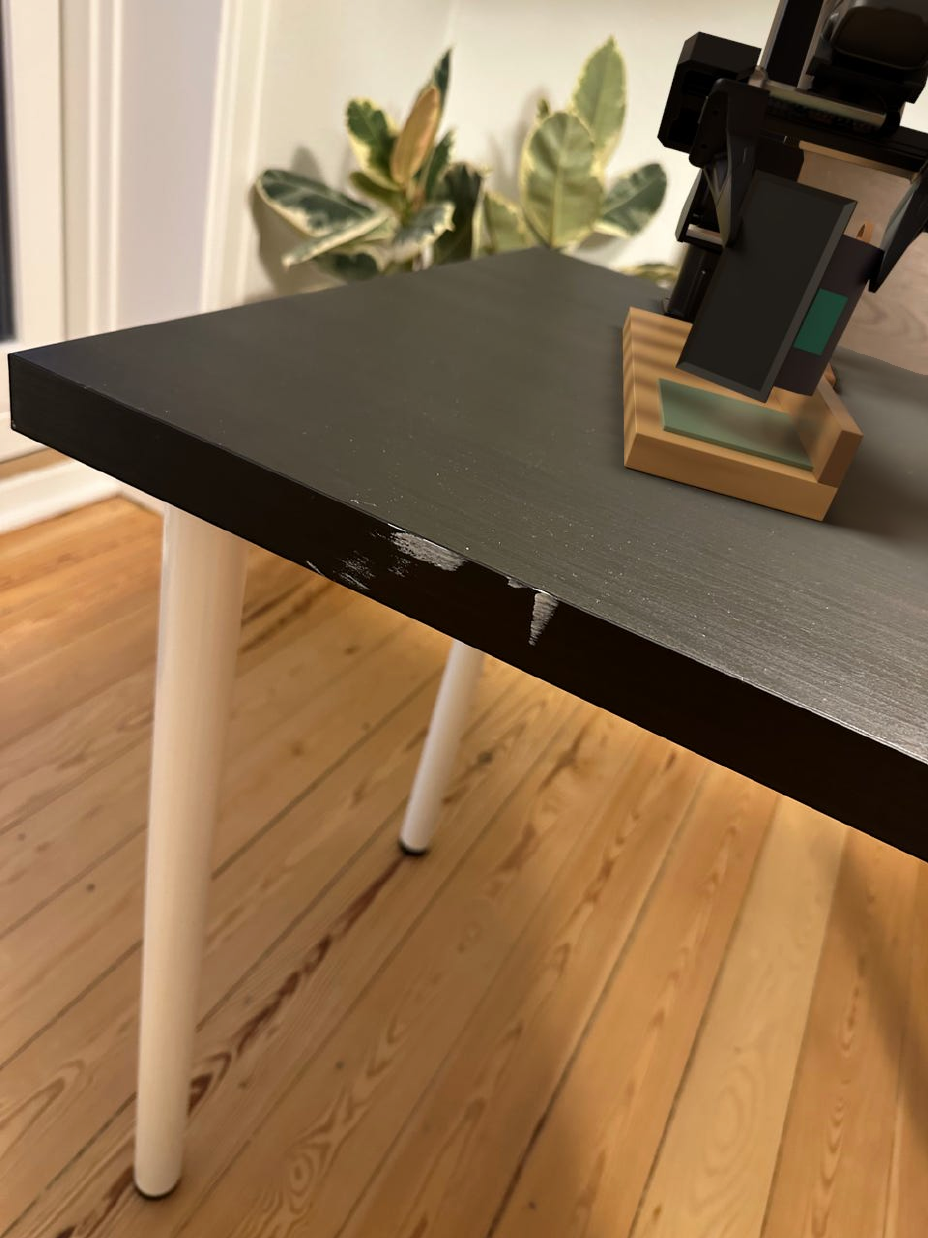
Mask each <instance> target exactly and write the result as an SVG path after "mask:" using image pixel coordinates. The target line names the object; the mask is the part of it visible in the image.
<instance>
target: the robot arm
mask: <svg viewBox="0 0 928 1238" xmlns="http://www.w3.org/2000/svg"><path fill="white" fill-rule="evenodd" d="M762 51H763V52H762ZM761 53H762V54H761ZM760 57H761V58H760ZM759 59H760V61H759ZM758 62H759V64H758ZM927 82H928V0H779V2H778V5H777V7H776V11H775V14H774V17H773V21H772V23H771V27H770V30H769V33H768V36H767V39H766V41H765V46H764V47H763V48H762V47H759V46H754V45H750V44H747V43H743V42H739V41H736V40H733V39H729V38H725V37H722V36H719V35H714V34H711V33H707V32H703V31H700V30H698V31H697V32H696V33H694V34H693V35H692V36H690V37H689V38H687V39H685V40H684V42H683V45H682V48H681V52H680V54H679V57H678V60H677V63H676V66H675V69H674V73H673V77H672V80H671V84H670V88H669V91H668V95H667V99H666V102H665V106H664V108H663V109H664V110H663V113H662V117H661V121H660V125H659V127H658V131H657V134H656V138H657V140H658V141H659V142H660V143H661V145H662V147H664V148H665V149H670V150H674V151H676V152H680V153H684V154H687V155H688V162H689V164H690V165H692V166H693V167H694V168H698V169H699V170H698V172H697V175H696V177H695V179H694V182H693V183H692V186H691V188H690V190H689V193H688V195H687V197H686V199H685V202H684V203H683V206H682V208H681V211H680V215H679V217H678V221H677V224H676V227H675V231H674V237H675V240H676V242H677V243H682V244H683V243H685V244H687V247H686V251H685V253H684V256H683V259H682V262H681V265H680V269H679V271H678V274H677V277H676V280H675V282H674V286H673V289H672V291H671V294H670V297H665V296H662V298H661V300H660V303H661V310H662V315H663V316H666V317H670V318H673V319H677V320H681V321H684V322H688V323H691V324H693V323H694V320H695V318H696V315H697V313H698V310H699V308H700V306H701V303H702V301H703V298H704V296H705V293H706V291H707V288H708V286H709V284H710V281H711V279H712V276H713V274H714V271H715V269H716V266H717V264H718V262H719V259H720V257H721V254H722V252H723V249H724V247H725V246H726V247H728V248H732V247H733V244H734V242H735V240H736V237H737V234H738V231H739V228H740V225H741V222H742V218H743V217H742V216H737V215H738V213H739V210H740V208H741V205H742V203H743V200H744V198H745V195H746V193H747V191H748V188H749V186H750V183H751V181H752V178H753V176H754V173H755V171H756V170H760V171H763V172H766V173H769V174H772V175H776V176H779V177H782V178H785V179H789V180H792V181H795V182H798V181H799V178H800V175H801V172H802V168H803V165H804V163H805V152H810V153H813V154H816V155H821V156H824V157H828V158H830V159H835V160H837V161H842V162H845V163H849V164H852V165H855V166H859V167H862V168H863V167H864V168H867V169H871V170H875V171H877V172H882V173H885V174H889V175H891V176H892V175H893V176H896V177H899V178H903V179H905V180H906V179H907V180H908V181H909V188H908V189H907V191H906V193H905V194H904V195H903V196H902V198H901V200H900V202H899V203H898V204H897V206H896V207H895V209H894V210H893V212H892V213H891V215H890V216H889V219H888V222H887V225H886V227H885V229H884V233H883V236H882V239H881V241H880V245H879V247H878V248H880V249H882V250H883V252H882V254H881V256H880V258H879V260H878V262H877V264H876V266H875V268H874V271H873V273H872V275H871V277H870V279H869V281H868V288H867V291H868V292H869V293H871V294H876V293H877V292H878V291H879V289H880V288H881V287H882V285H884V282H885V281H886V280H887V278H888V277H889V276H890V274H891V273H892V271H893V270H894V268H895V267H896V265H897V264H898V263H899V261H900V259H901V258H902V256H903V255H904V254H905V252H906V250H907V249H908V248H909V247H910V246H911V245H912V244H913V243H914V242H915V241H916V240H917V239H918V238H919V237H920V236H921V235H922V234H928V132H925V131H922V130H919V129H916V128H911V127H907V126H904V125H901V122H902V119H903V115H904V111H905V108H906V103H907V104H908V103H909V104H912V105H914V104H916V103H917V101H918V100H919V98H920V96H921V94H922V93H923V91H924V89H925V88H926V85H927ZM798 183H799V182H798ZM690 225H692V226H695V227H696V228H698V229H702V230H705V231H709V232H713V233H716V234H719V235H720V237H718V236H715V235H711V234H709V233H704V232H700V231H697V230H693V229H690Z"/></svg>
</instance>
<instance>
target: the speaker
mask: <svg viewBox="0 0 928 1238" xmlns="http://www.w3.org/2000/svg"><path fill="white" fill-rule="evenodd" d="M858 203H859V201H858V200H855V199H853V198H850V197H847V196H843V195H839V194H837V193H834V192H830V191H827V190H824V189H821V188H818V187H814V186H810V185H808V184H805V183H801V182H795V181H792V180H789V179H785V178H782V177H779V176H776V175H772V174H769V173H766V172H763V171H760V170H756V171H755V173H754V176H753V178H752V181H751V183H750V186H749V188H748V191H747V193H746V195H745V198H744V200H743V203H742V205H741V208H740V210H739V213H738V215H737V216H742V217H743V218H742V222H741V225H740V228H739V231H738V234H737V237H736V240H735V242H734V244H733V247H732V248H728V247H726V246H725V247H724V249H723V252H722V254H721V257H720V259H719V262H718V264H717V266H716V269H715V271H714V274H713V276H712V279H711V281H710V284H709V286H708V288H707V291H706V293H705V296H704V298H703V301H702V303H701V306H700V308H699V310H698V313H697V315H696V318H695V320H694V323H693V325H692V328H691V330H690V332H689V335H688V337H687V340H686V342H685V345H684V347H683V350H682V352H681V354H680V357H679V359H678V362H677V364H676V367H675V368H678V369H680V370H683V371H685V372H688V373H690V374H693V375H695V376H698V377H700V378H702V379H705V380H707V381H710V382H712V383H715V384H717V385H720V386H722V387H725V388H727V389H730V390H732V391H735V392H737V393H739V394H742V395H744V396H747V397H749V398H752V399H754V400H757V401H759V402H762V403H766V402H767V400H768V398H769V395H770V393H771V391H772V389H773V387H777V388H780V389H784V390H787V391H790V392H793V393H796V394H801V395H806V396H811V397H812V395H813V393H814V391H815V389H816V387H817V385H818V383H819V381H820V379H821V377H822V375H823V373H824V371H825V369H826V367H827V365H828V363H829V364H830V361H831V359H832V356H833V354H834V352H835V351H836V348H837V347H838V345H839V342H840V340H841V339H842V336H843V334H844V332H845V330H846V328H847V326H848V324H849V322H850V319H851V318H852V316H853V314H854V312H855V309H856V308H857V306H858V304H859V301H860V299H861V297H862V295H863V293H864V291H865V289H866V287H867V285H868V284H869V279H870V277H871V275H872V273H873V271H874V268H875V266H876V264H877V262H878V260H879V258H880V256H881V254H882V252H883V250H882V249H880V248H879V247H877V246H875V244H872V243H870V242H869V243H867V242H864V241H861V240H858V239H856V238H855V237H853V236H850V235H847V234H845V232H846V230H847V227H848V225H849V223H850V221H851V219H852V217H853V215H854V212H855V210H856V208H857V206H858Z"/></svg>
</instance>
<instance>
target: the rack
mask: <svg viewBox="0 0 928 1238" xmlns="http://www.w3.org/2000/svg"><path fill="white" fill-rule="evenodd" d="M692 325H693V324H691V323H688V322H684V321H681V320H677V319H673V318H670V317H666V316H664V315H663V314H659V313H655V312H651V311H648V310H644V309H642V308H637V307H634V306H630V307H629V310H628V313H627V316H626V319H625V323H624V325H623V328H622V372H623V373H622V375H623V376H622V379H623V380H622V381H623V382H622V383H623V384H622V385H623V387H622V389H623V390H622V391H623V449H624V450H623V451H624V452H623V457H624V458H623V459H624V460H623V463H624V467H625V468H628V469H632V470H636V471H639V472H642V473H646V474H650V475H653V476H657V477H660V478H664V479H667V480H672V481H675V482H679V483H682V484H686V485H689V486H693V487H696V488H700V489H703V490H708V491H711V492H713V493H718V494H723V495H725V496H729V497H733V498H736V499H740V500H743V501H747V502H750V503H754V504H758V505H761V506H765V507H769V508H772V509H776V510H779V511H783V512H786V513H789V514H794V515H797V516H799V517H804V518H808V519H811V520H815V521H818V522H823V520H824V518H825V517H826V515H827V512H828V511H829V508H830V506H831V504H832V502H833V500H834V498H835V496H836V494H837V492H838V490H839V488H840V485H841V484H842V482H843V479H844V477H845V475H846V474H847V471H848V470H849V467H850V466H851V463H852V461H853V459H854V457H855V455H856V453H857V451H858V449H859V447H860V445H861V443H862V441H863V439H864V437H865V436H864V433H863V431H862V430H861V429H860V428H859V426H858V424H857V423H856V421H855V420H854V418H853V417H852V415H851V414H850V412H849V410H848V408H846V406H845V405H844V403H843V402H842V399H840V397H839V395H838V394H837V392H836V391H835V389H833V388H834V387H833V388H832V387H831V385H830V384H829V382H828V381H827V379H826V378H825V376H824V375H822V377H821V379H820V381H819V383H818V385H817V387H816V389H815V391H814V393H813V395H812V397H811V396H806V395H801V394H796V393H793V392H790V391H787V390H784V389H780V388H777V387H773V389H772V391H771V393H770V395H769V398H768V400H767V402H766V403H762V402H759V401H757V400H754V399H752V398H749V397H747V396H744V395H742V394H739V393H737V392H735V391H732V390H730V389H727V388H725V387H722V386H720V385H717V384H715V383H712V382H710V381H707V380H705V379H702V378H700V377H698V376H695V375H693V374H690V373H688V372H685V371H683V370H680V369H678V368H675V367H676V364H677V362H678V359H679V357H680V354H681V352H682V350H683V347H684V345H685V342H686V340H687V337H688V335H689V332H690V330H691V328H692Z"/></svg>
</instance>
